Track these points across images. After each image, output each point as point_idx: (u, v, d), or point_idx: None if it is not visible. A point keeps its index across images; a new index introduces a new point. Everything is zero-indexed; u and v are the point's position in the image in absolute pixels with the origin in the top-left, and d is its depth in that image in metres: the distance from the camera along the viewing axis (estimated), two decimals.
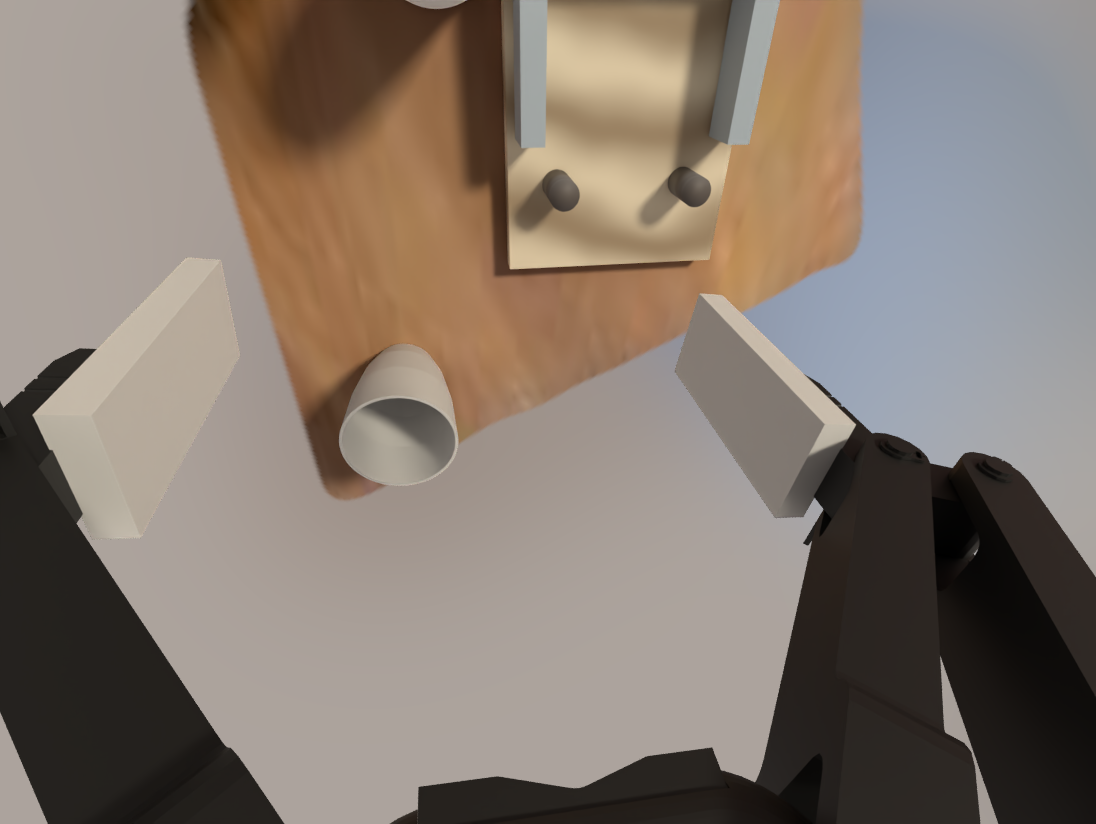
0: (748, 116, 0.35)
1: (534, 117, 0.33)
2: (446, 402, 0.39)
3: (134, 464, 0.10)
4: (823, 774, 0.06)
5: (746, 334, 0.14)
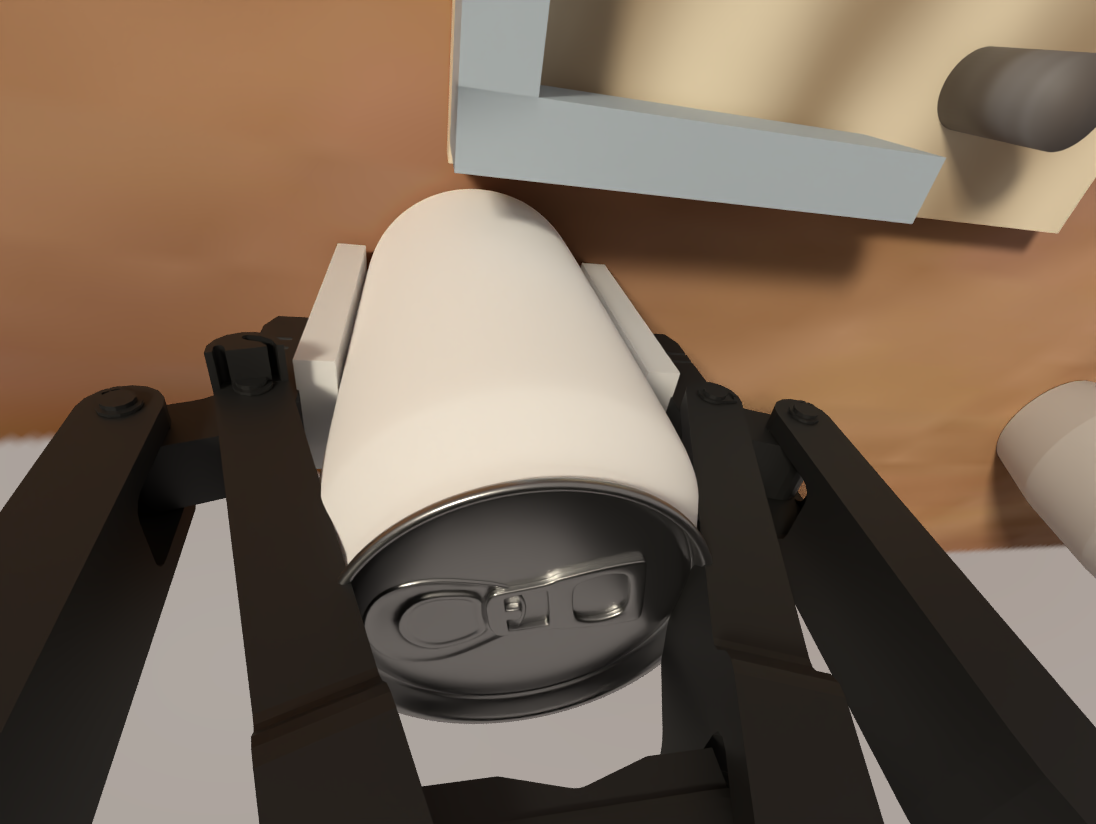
0: None
1: (870, 180, 0.12)
2: None
3: None
4: (727, 756, 0.06)
5: (611, 297, 0.15)
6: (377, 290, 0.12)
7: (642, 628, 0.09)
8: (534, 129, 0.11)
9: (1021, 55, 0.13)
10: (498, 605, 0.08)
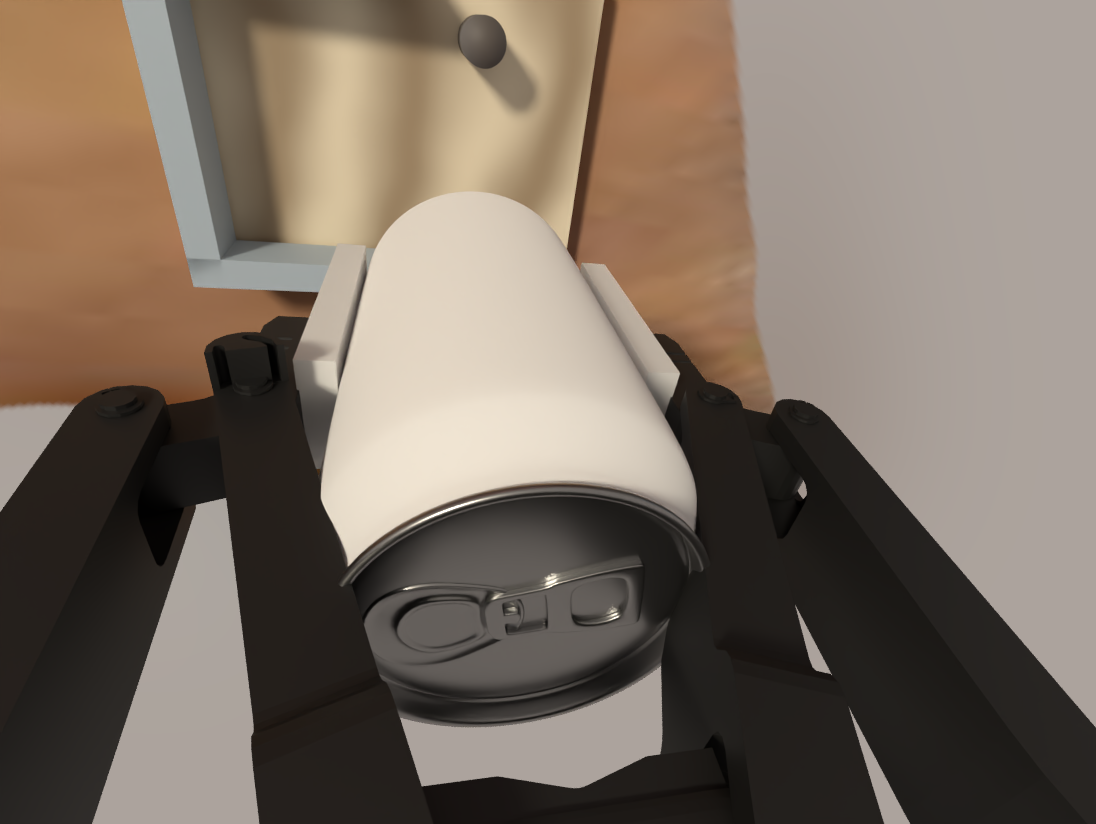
0: None
1: None
2: None
3: None
4: (727, 756, 0.06)
5: (611, 297, 0.15)
6: (376, 293, 0.12)
7: (640, 631, 0.09)
8: (222, 270, 0.28)
9: None
10: (496, 609, 0.08)
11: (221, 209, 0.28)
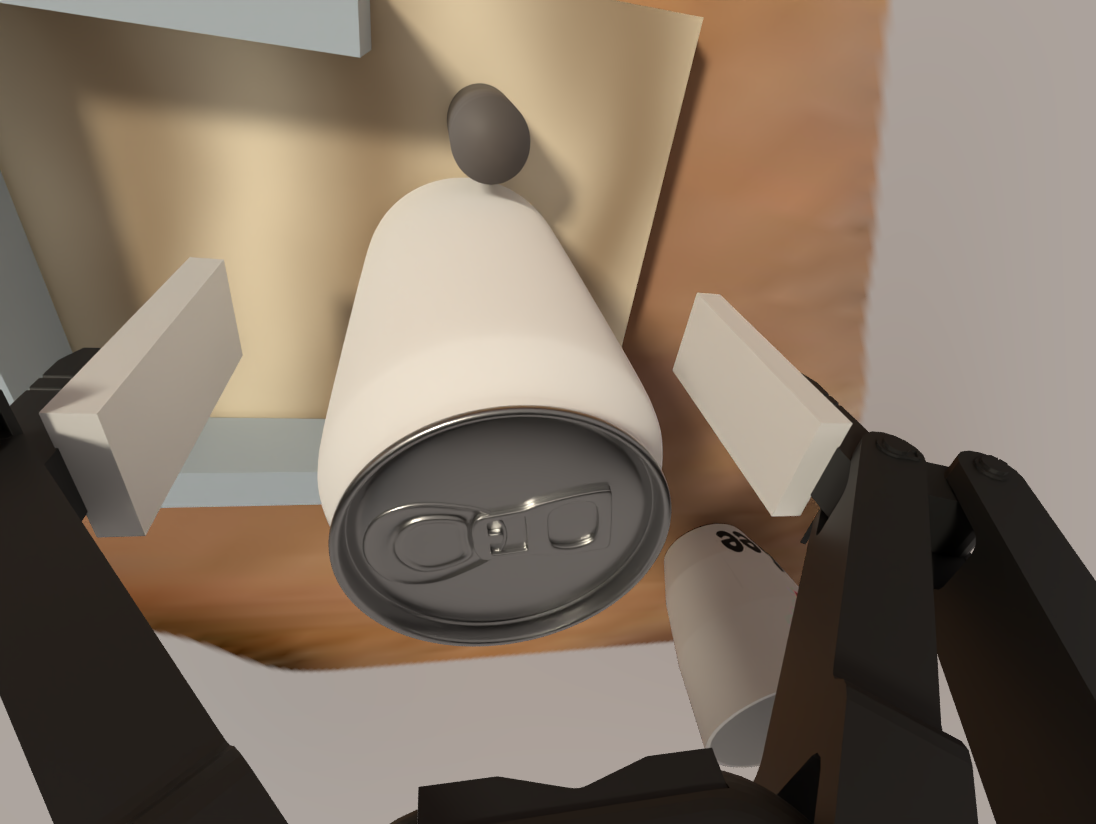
0: None
1: None
2: (762, 649, 0.24)
3: (139, 462, 0.10)
4: (821, 773, 0.06)
5: (743, 333, 0.14)
6: (375, 265, 0.13)
7: (612, 558, 0.10)
8: None
9: None
10: (482, 529, 0.09)
11: None
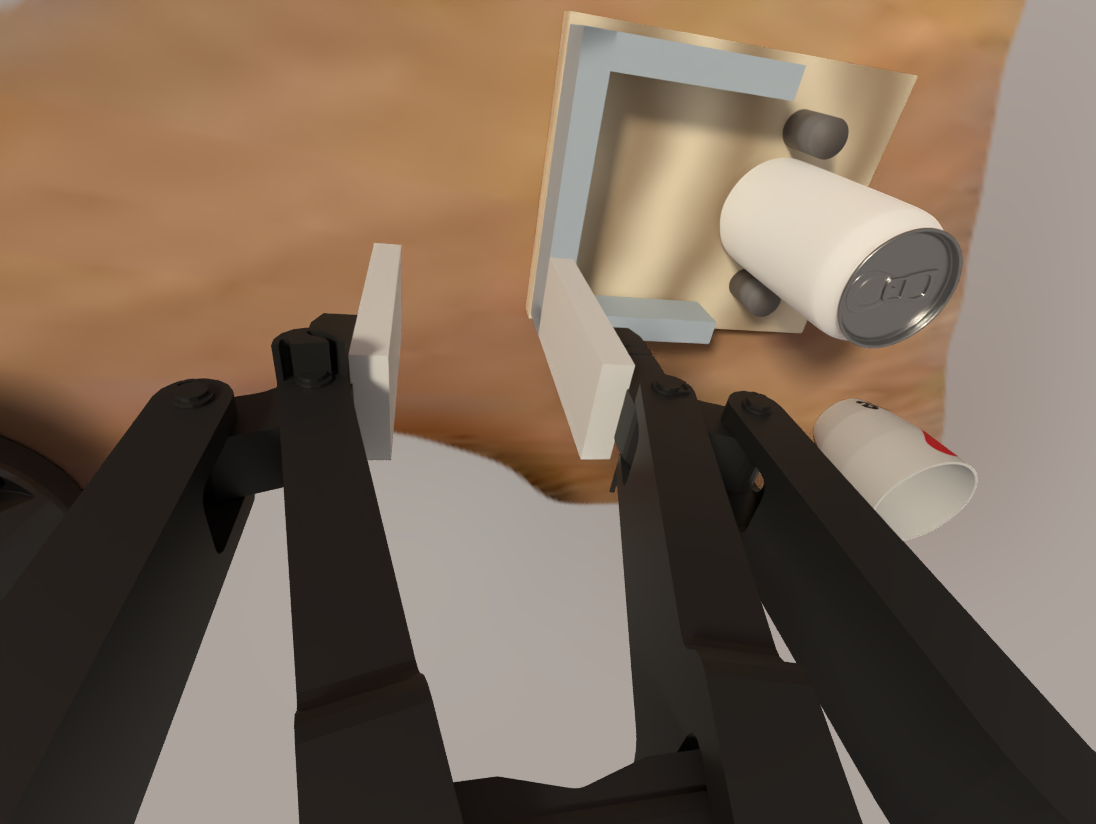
0: (772, 71, 0.26)
1: (688, 330, 0.34)
2: (907, 451, 0.39)
3: (391, 400, 0.12)
4: (703, 758, 0.06)
5: (575, 291, 0.15)
6: (786, 196, 0.28)
7: (924, 308, 0.25)
8: None
9: (750, 279, 0.34)
10: (890, 285, 0.24)
11: None
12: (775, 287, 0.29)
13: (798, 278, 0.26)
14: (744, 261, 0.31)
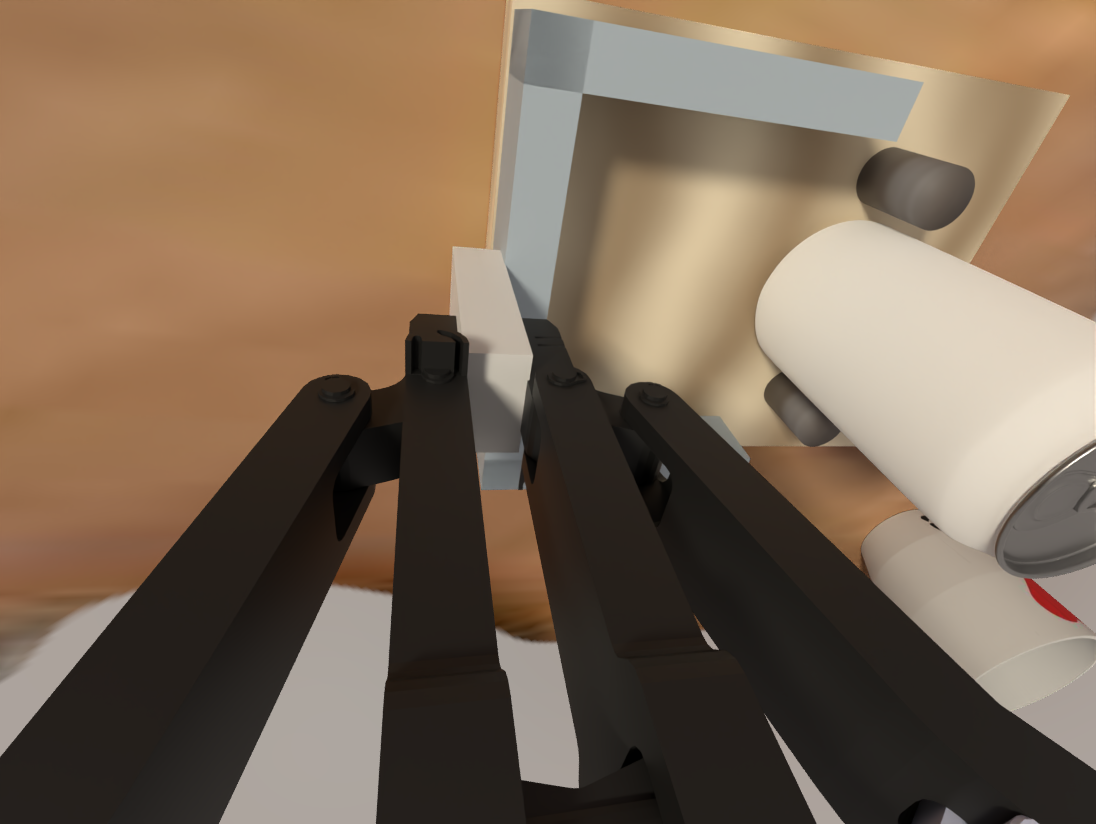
0: (866, 92, 0.15)
1: None
2: (1009, 613, 0.28)
3: None
4: (650, 773, 0.05)
5: (492, 282, 0.15)
6: (877, 297, 0.17)
7: None
8: None
9: (798, 391, 0.23)
10: None
11: None
12: (856, 440, 0.18)
13: (912, 454, 0.15)
14: (796, 380, 0.20)
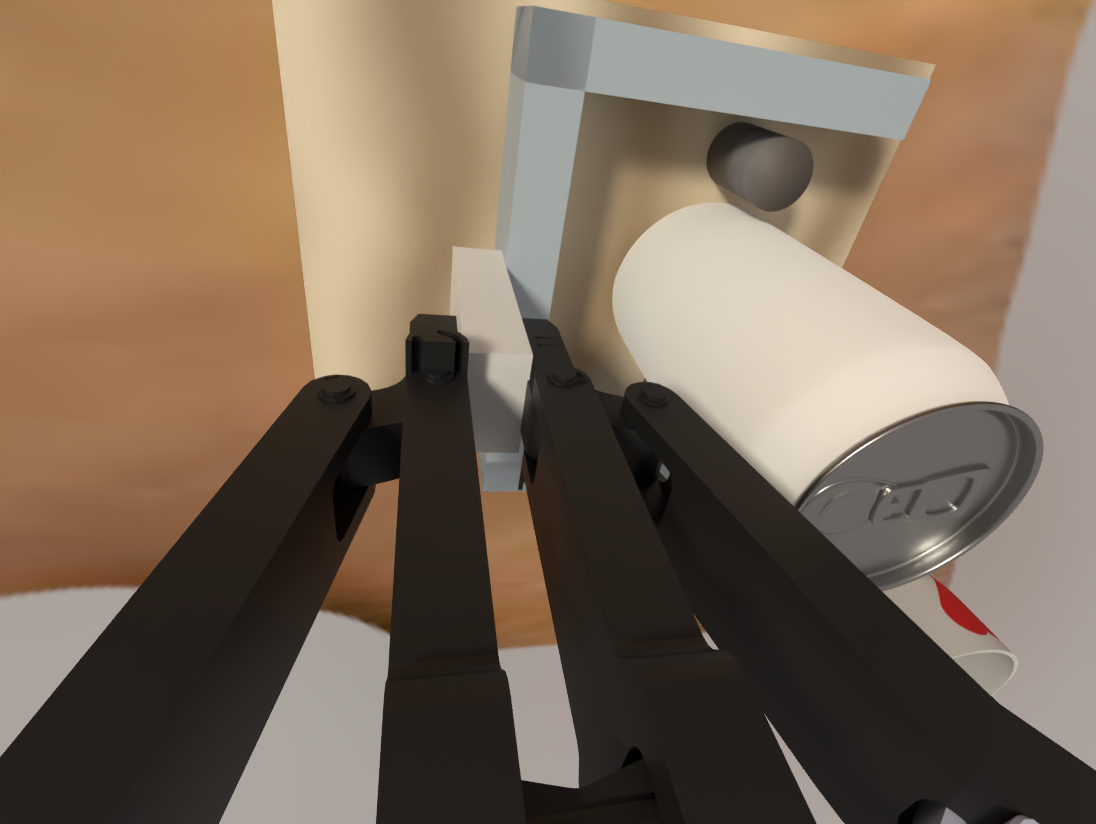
0: (873, 89, 0.15)
1: None
2: None
3: None
4: (650, 773, 0.05)
5: (492, 281, 0.15)
6: (697, 283, 0.15)
7: (955, 526, 0.13)
8: None
9: None
10: (888, 499, 0.11)
11: None
12: None
13: None
14: (644, 376, 0.19)
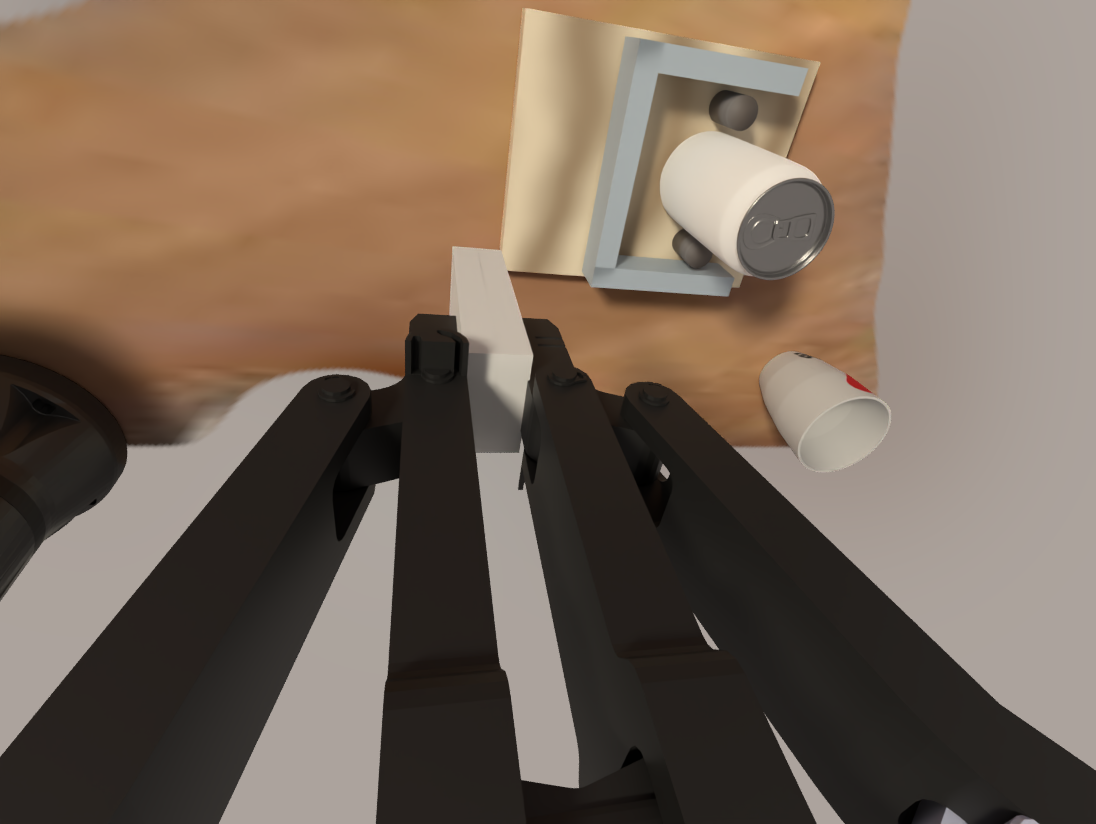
0: (782, 72, 0.33)
1: (711, 284, 0.41)
2: (830, 389, 0.45)
3: None
4: (650, 773, 0.05)
5: (492, 281, 0.15)
6: (705, 160, 0.34)
7: (809, 247, 0.31)
8: (613, 275, 0.39)
9: (687, 236, 0.41)
10: (778, 226, 0.30)
11: None
12: (698, 235, 0.35)
13: (710, 224, 0.32)
14: (677, 217, 0.37)
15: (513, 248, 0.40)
